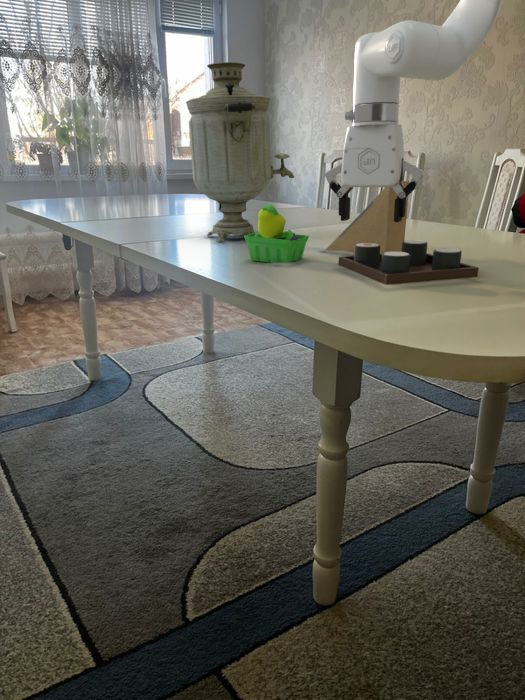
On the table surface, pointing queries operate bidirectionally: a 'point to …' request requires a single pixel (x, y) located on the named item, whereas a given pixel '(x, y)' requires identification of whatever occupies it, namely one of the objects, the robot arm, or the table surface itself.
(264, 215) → the fruit basket
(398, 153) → the robot arm
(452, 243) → the table surface
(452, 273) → the tray
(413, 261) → the corner roll
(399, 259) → the corner roll
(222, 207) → the samovar
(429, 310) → the table surface
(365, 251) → the maki roll
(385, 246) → the sandwich container
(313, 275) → the table surface
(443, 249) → the corner roll
